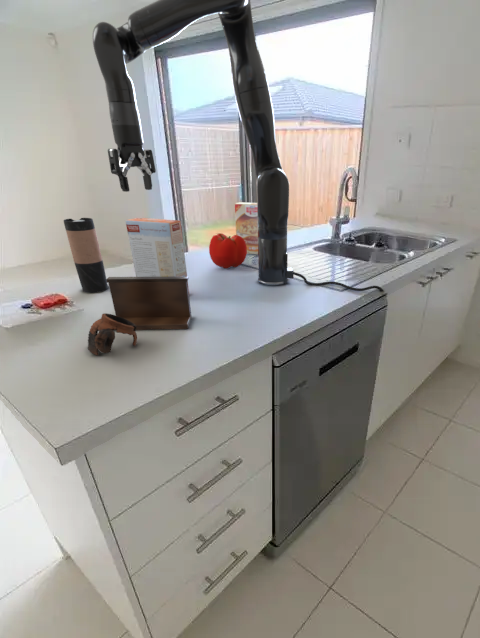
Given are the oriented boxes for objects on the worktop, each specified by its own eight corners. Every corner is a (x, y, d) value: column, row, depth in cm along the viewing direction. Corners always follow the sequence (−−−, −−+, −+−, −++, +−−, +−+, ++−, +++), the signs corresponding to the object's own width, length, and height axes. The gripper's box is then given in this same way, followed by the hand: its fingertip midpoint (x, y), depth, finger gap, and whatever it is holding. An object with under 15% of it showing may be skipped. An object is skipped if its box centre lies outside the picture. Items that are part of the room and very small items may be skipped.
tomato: (204, 269, 135) (201, 235, 129) (223, 260, 147) (221, 229, 141) (236, 273, 131) (234, 238, 125) (253, 264, 143) (253, 232, 137)
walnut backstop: (192, 318, 95) (188, 276, 89) (189, 328, 89) (183, 284, 83) (118, 319, 93) (108, 276, 88) (109, 330, 87) (98, 285, 82)
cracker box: (190, 294, 111) (181, 219, 100) (179, 300, 106) (168, 222, 95) (150, 289, 115) (138, 216, 104) (138, 294, 110) (124, 219, 99)
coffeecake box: (236, 253, 157) (234, 203, 147) (240, 250, 163) (238, 201, 153) (270, 255, 155) (270, 204, 145) (273, 251, 161) (274, 203, 151)
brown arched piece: (90, 342, 83) (102, 308, 81) (132, 358, 85) (145, 325, 84) (72, 354, 71) (86, 314, 70) (122, 371, 74) (136, 333, 73)
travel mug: (99, 294, 110) (81, 222, 100) (76, 292, 111) (56, 220, 101) (114, 286, 116) (98, 218, 106) (92, 284, 118) (75, 217, 107)
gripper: (114, 121, 94) (127, 192, 102) (155, 125, 104) (164, 189, 113) (94, 122, 97) (108, 191, 105) (136, 126, 107) (146, 188, 116)
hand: (137, 190), depth 109 cm, fingers open, 8 cm apart
